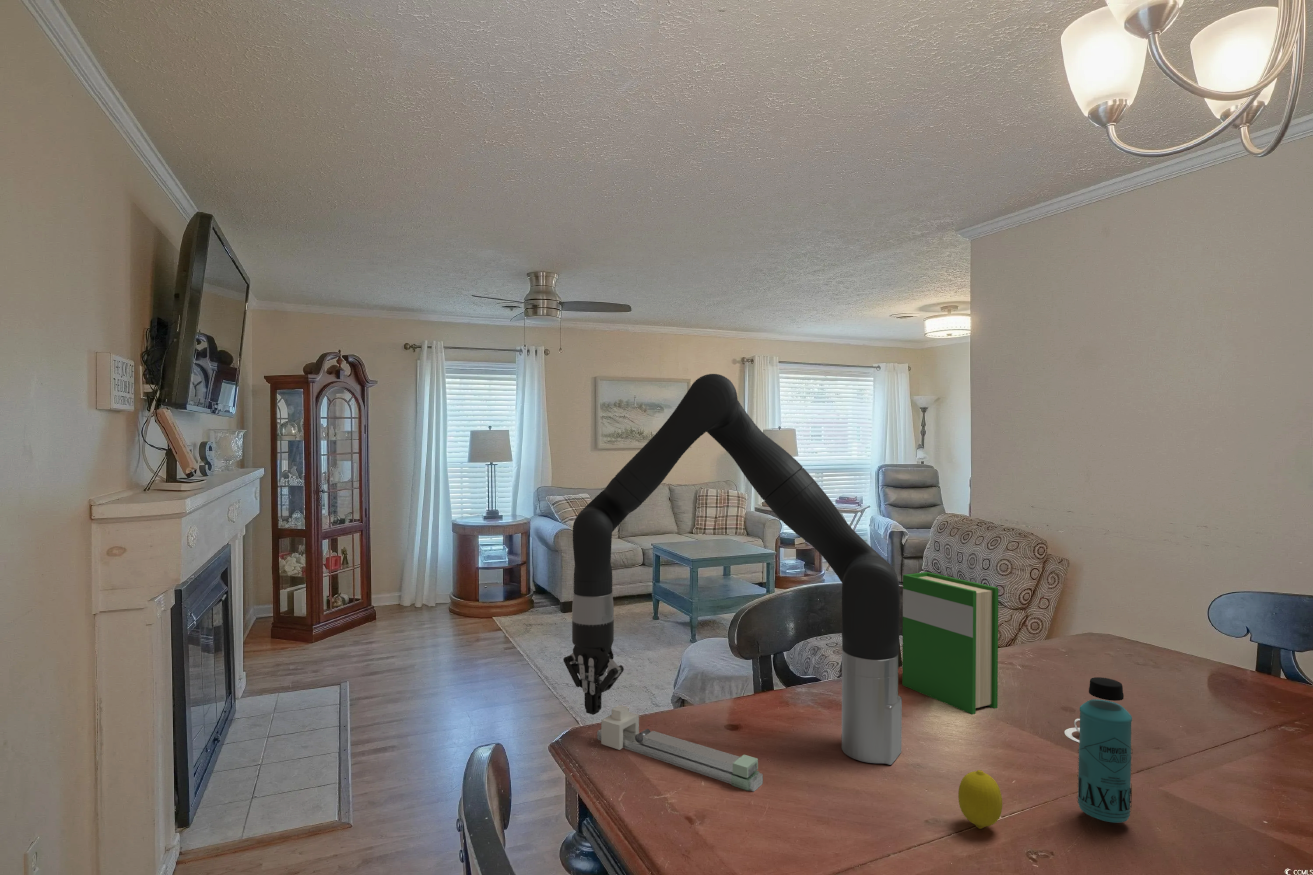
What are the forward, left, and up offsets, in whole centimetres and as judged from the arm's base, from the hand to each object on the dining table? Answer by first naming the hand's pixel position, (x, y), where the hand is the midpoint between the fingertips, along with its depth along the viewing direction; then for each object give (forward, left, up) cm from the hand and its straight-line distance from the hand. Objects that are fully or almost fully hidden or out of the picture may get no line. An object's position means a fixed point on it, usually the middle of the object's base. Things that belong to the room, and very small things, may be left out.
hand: (592, 712), depth 127 cm
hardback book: (-48, -57, -4) cm, 75 cm away
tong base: (-18, 0, -4) cm, 18 cm away
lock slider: (-6, 0, -4) cm, 7 cm away
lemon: (-63, -8, -4) cm, 64 cm away
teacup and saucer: (-77, -50, -4) cm, 92 cm away
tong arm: (-22, 0, -2) cm, 22 cm away
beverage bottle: (-77, -20, -4) cm, 80 cm away
